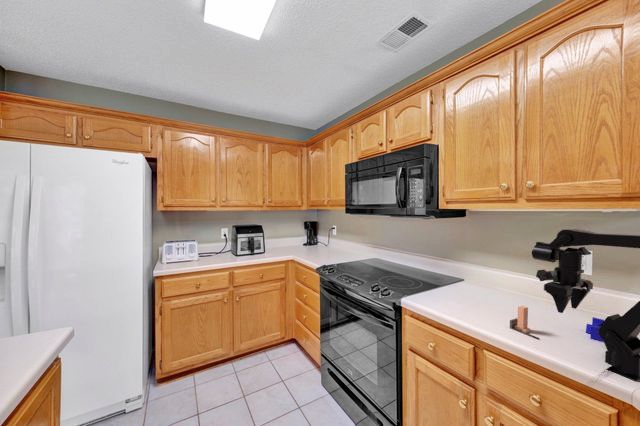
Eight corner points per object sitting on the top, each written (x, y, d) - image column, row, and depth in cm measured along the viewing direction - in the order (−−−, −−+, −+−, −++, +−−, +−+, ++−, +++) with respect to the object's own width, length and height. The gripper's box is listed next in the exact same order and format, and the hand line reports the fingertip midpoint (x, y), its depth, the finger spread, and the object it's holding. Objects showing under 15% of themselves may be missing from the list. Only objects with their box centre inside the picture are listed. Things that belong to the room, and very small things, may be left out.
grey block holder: (547, 341, 94) (547, 329, 94) (539, 344, 92) (539, 331, 92) (516, 329, 103) (517, 318, 103) (509, 331, 101) (509, 320, 101)
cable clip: (586, 330, 103) (587, 316, 103) (603, 335, 100) (604, 319, 99) (584, 341, 95) (584, 325, 95) (602, 346, 92) (603, 329, 91)
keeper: (530, 331, 99) (531, 308, 98) (526, 333, 97) (526, 309, 97) (518, 327, 102) (519, 304, 102) (514, 328, 101) (515, 305, 101)
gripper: (555, 258, 100) (552, 298, 101) (527, 262, 92) (525, 305, 93) (594, 265, 90) (592, 309, 91) (567, 270, 82) (564, 318, 83)
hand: (567, 310), depth 90 cm, fingers open, 9 cm apart
